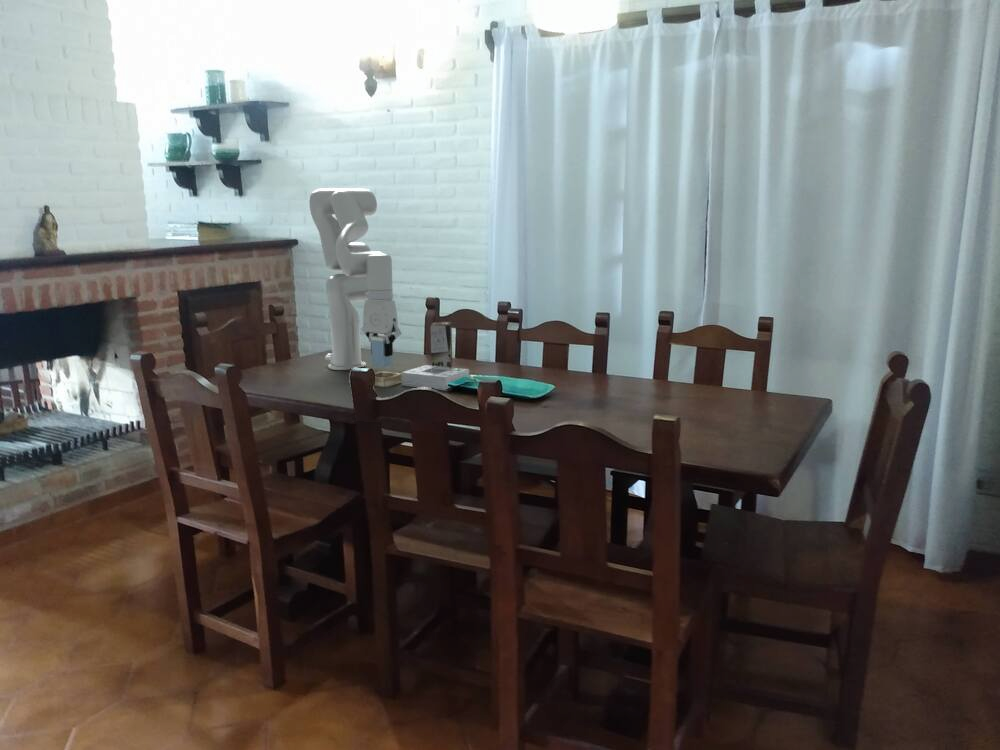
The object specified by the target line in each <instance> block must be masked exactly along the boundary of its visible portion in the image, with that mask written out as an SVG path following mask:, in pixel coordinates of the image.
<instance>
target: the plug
mask: <svg viewBox="0 0 1000 750" xmlns="http://www.w3.org/2000/svg"><path fill="white" fill-rule="evenodd" d="M385 343H386V340H385V336H384V334H378V335H376V336H372V337H371V342H370V349H371V348H372V354H371V366H372V367H379V368H386V367H388V366H392V365H393V354H392V355H391V356H385Z"/></svg>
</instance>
